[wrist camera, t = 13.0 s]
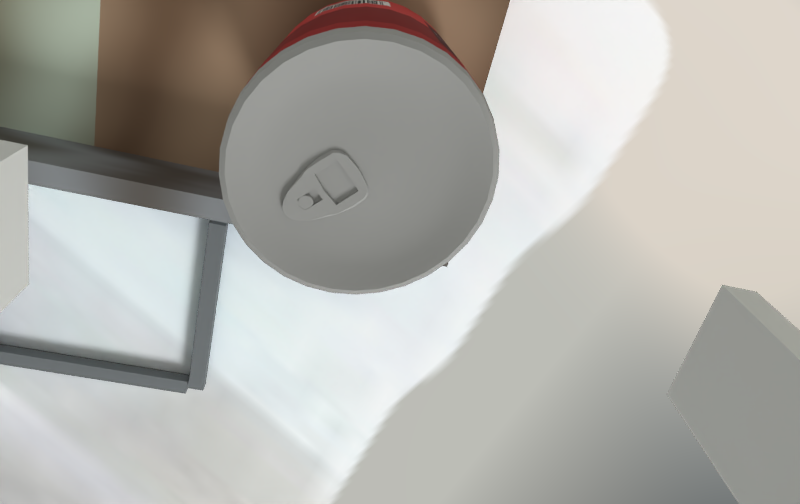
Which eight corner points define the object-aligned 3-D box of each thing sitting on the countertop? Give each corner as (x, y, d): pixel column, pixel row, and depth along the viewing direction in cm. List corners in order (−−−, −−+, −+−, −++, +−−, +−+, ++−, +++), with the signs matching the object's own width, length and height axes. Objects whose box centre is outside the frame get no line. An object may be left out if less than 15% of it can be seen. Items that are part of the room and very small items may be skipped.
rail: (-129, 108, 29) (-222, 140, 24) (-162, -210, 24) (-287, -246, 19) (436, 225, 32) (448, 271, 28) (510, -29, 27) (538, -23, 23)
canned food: (233, 100, 28) (159, 189, 18) (357, -51, 25) (351, -45, 15) (367, 211, 30) (367, 343, 20) (491, 83, 28) (558, 162, 18)
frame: (-21, 353, 34) (-27, 359, 34) (-29, 170, 30) (-36, 174, 29) (204, 389, 36) (202, 396, 35) (228, 221, 32) (226, 226, 31)
